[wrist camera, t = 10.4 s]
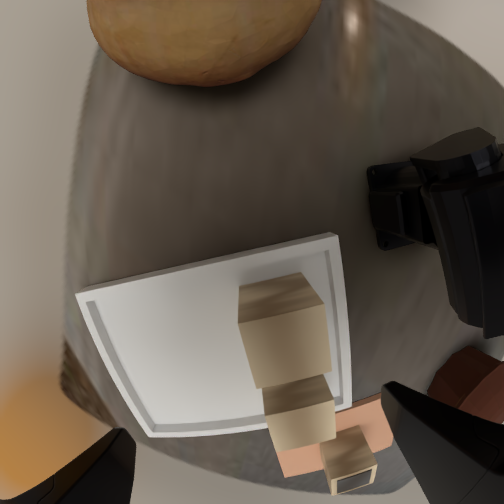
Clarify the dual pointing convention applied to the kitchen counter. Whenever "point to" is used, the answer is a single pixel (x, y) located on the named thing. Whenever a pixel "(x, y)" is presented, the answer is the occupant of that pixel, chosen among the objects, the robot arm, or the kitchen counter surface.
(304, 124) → the kitchen counter surface
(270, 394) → the plain box
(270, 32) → the butternut squash
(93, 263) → the kitchen counter surface
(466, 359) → the muffin
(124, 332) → the white shallow tray
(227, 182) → the kitchen counter surface
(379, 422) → the terracotta tile
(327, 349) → the plain box
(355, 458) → the labelled box
